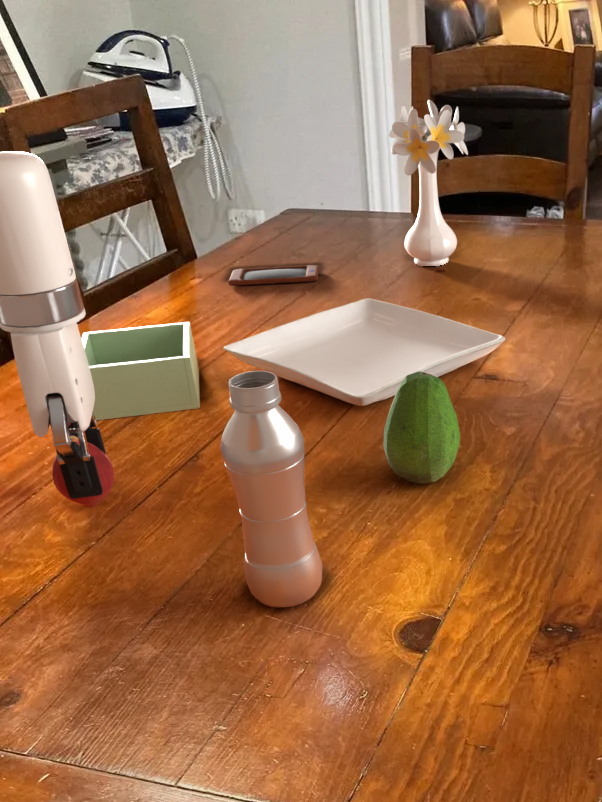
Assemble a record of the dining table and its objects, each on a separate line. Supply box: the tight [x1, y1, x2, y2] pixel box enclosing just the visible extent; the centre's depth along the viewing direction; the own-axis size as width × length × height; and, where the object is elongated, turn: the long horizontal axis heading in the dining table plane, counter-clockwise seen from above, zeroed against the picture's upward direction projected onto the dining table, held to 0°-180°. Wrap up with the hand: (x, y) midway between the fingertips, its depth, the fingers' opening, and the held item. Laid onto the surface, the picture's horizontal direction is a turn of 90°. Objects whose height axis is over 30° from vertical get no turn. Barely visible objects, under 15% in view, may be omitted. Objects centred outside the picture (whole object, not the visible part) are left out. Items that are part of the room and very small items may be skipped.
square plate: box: [223, 298, 506, 407], centre depth 125 cm, size 27×27×4 cm
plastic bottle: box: [219, 370, 323, 608], centre depth 76 cm, size 6×7×20 cm
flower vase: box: [388, 99, 469, 267], centre depth 158 cm, size 13×18×25 cm
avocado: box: [383, 371, 461, 485], centre depth 96 cm, size 8×8×12 cm
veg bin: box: [81, 321, 201, 421], centre depth 119 cm, size 14×14×7 cm
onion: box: [51, 436, 115, 509], centre depth 94 cm, size 6×6×8 cm
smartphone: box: [228, 264, 320, 286], centre depth 160 cm, size 7×1×15 cm
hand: (89, 478), depth 95 cm, fingers closed on onion, 5 cm apart
